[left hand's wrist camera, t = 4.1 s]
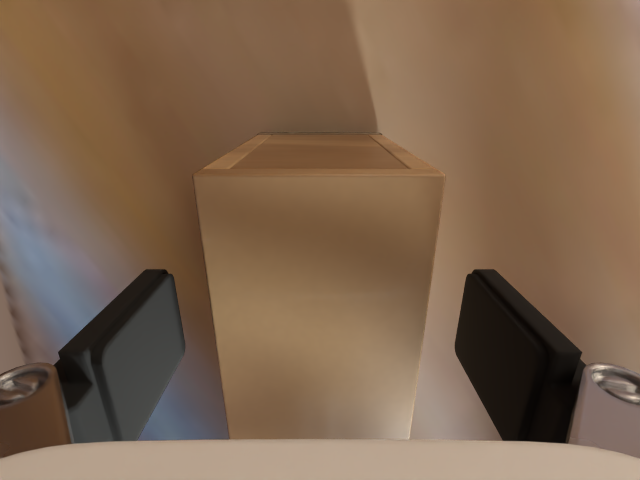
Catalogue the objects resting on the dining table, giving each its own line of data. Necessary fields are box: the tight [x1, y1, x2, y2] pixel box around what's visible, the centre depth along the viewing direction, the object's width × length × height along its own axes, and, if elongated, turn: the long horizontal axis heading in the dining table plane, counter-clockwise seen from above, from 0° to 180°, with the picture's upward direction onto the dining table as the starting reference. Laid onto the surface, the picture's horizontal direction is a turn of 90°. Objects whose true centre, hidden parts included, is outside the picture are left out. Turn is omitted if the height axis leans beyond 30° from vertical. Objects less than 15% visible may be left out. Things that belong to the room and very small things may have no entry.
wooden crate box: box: [192, 133, 446, 440], centre depth 18 cm, size 20×6×11 cm, turn 0°
